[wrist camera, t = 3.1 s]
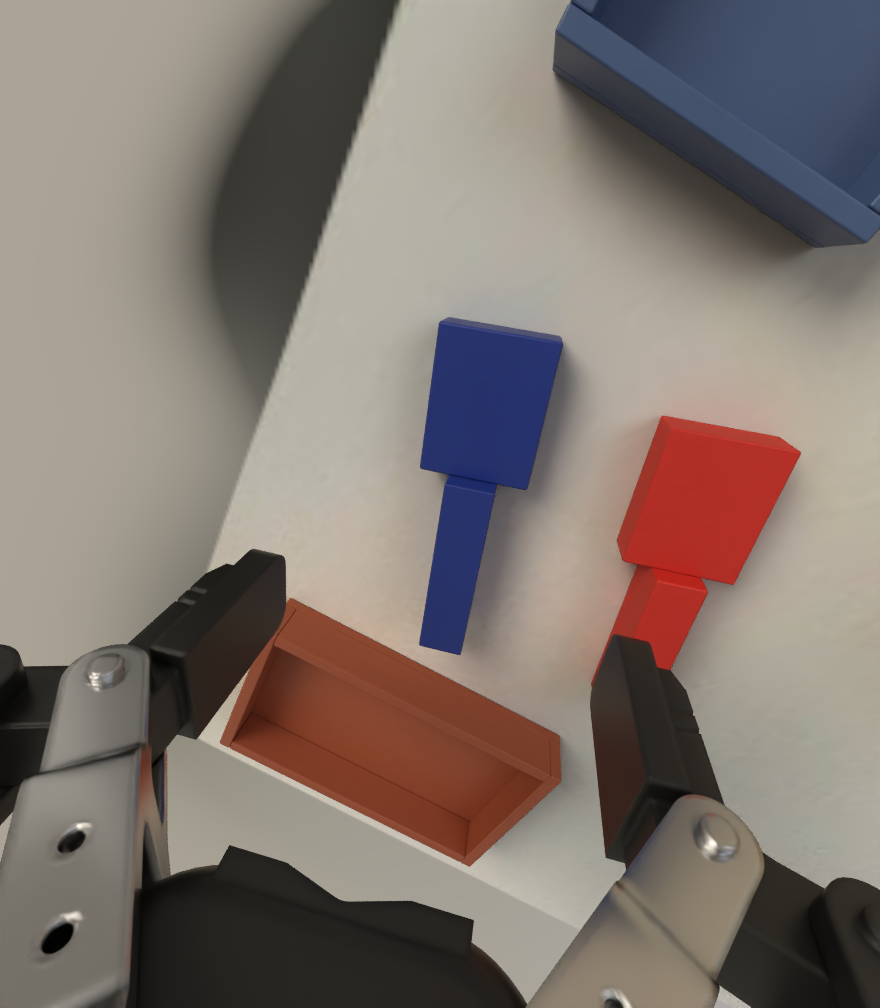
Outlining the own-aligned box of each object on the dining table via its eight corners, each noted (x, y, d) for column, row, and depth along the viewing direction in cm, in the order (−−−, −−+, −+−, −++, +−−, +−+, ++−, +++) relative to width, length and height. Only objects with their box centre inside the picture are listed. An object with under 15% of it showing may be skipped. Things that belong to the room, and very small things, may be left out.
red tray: (244, 706, 28) (218, 743, 26) (290, 597, 24) (264, 630, 22) (475, 821, 29) (469, 867, 26) (560, 735, 24) (562, 781, 22)
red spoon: (653, 698, 22) (665, 743, 20) (566, 677, 23) (569, 719, 21) (780, 436, 17) (815, 461, 14) (661, 414, 17) (678, 435, 15)
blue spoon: (491, 624, 22) (486, 662, 20) (407, 605, 23) (393, 639, 21) (561, 336, 16) (565, 345, 14) (447, 316, 17) (433, 322, 15)
